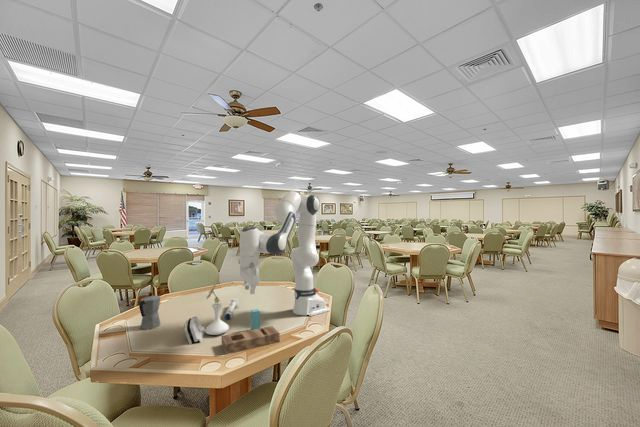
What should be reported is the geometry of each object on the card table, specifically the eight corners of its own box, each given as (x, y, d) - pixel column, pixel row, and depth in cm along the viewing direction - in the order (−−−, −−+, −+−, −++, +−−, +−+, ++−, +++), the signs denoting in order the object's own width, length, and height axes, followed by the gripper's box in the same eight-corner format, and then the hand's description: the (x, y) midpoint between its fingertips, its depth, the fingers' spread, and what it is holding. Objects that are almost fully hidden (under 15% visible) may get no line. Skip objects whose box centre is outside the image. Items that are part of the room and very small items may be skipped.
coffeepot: (149, 321, 155) (149, 289, 155) (166, 321, 155) (166, 289, 155) (130, 333, 139) (130, 297, 140) (149, 333, 139) (149, 297, 140)
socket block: (272, 334, 137) (272, 325, 137) (279, 341, 128) (279, 333, 128) (221, 344, 125) (221, 336, 125) (225, 354, 117) (225, 344, 117)
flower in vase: (210, 328, 145) (210, 280, 146) (232, 328, 145) (232, 280, 145) (199, 338, 132) (199, 286, 133) (222, 338, 132) (222, 286, 132)
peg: (257, 328, 144) (257, 308, 145) (259, 330, 141) (259, 310, 141) (251, 329, 143) (250, 310, 143) (252, 332, 139) (252, 312, 140)
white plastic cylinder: (222, 313, 156) (231, 295, 181) (222, 324, 157) (231, 305, 182) (232, 313, 157) (239, 295, 182) (232, 324, 158) (239, 305, 182)
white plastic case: (201, 342, 128) (193, 323, 127) (190, 347, 126) (182, 327, 126) (205, 329, 144) (198, 311, 143) (195, 333, 142) (188, 315, 142)
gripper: (262, 264, 122) (262, 296, 121) (250, 258, 140) (250, 286, 139) (248, 265, 119) (248, 298, 118) (237, 259, 137) (237, 287, 136)
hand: (249, 291), depth 129 cm, fingers open, 8 cm apart
